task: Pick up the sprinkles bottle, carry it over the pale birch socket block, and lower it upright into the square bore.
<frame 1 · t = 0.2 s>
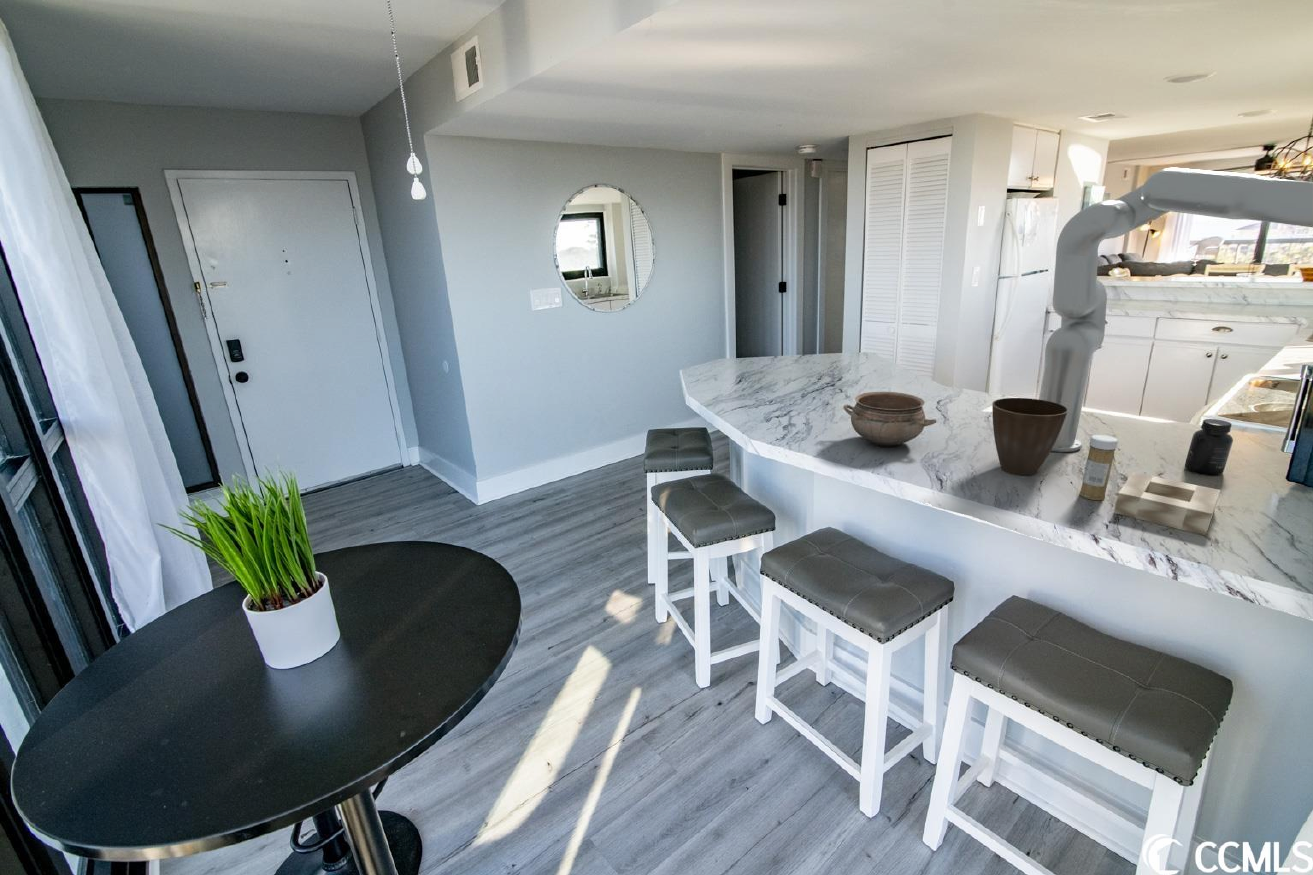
socket block: (1163, 511, 120), on the table
supplement bottle: (1202, 471, 138), on the table
plant pot: (1017, 470, 142), on the table
cooking pot: (885, 443, 163), on the table
sprinkles bottle: (1091, 497, 127), on the table
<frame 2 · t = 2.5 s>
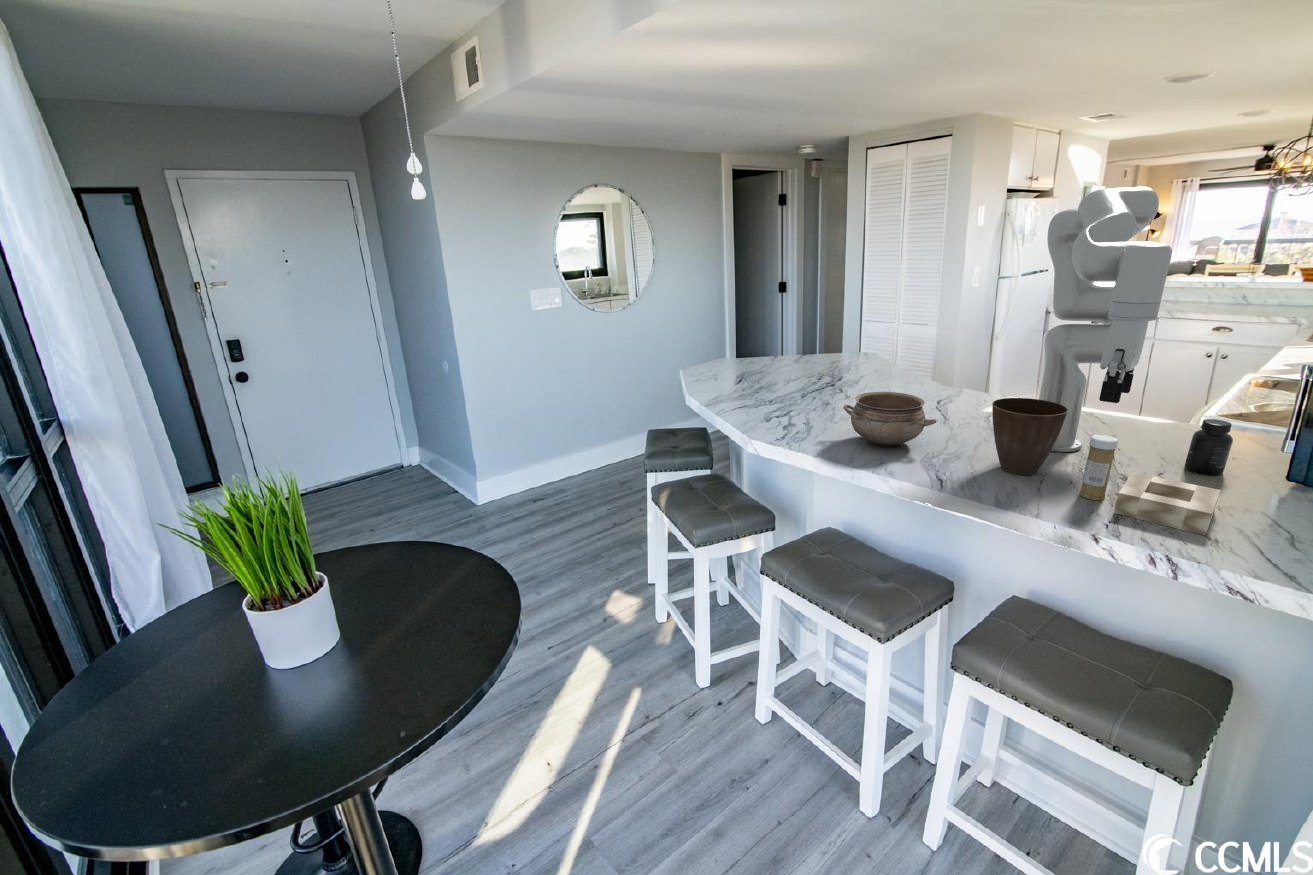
hand: (1114, 396, 120), 22 cm above the table, tool pointing down, fingers open, 9 cm apart
nothing on the table moved.
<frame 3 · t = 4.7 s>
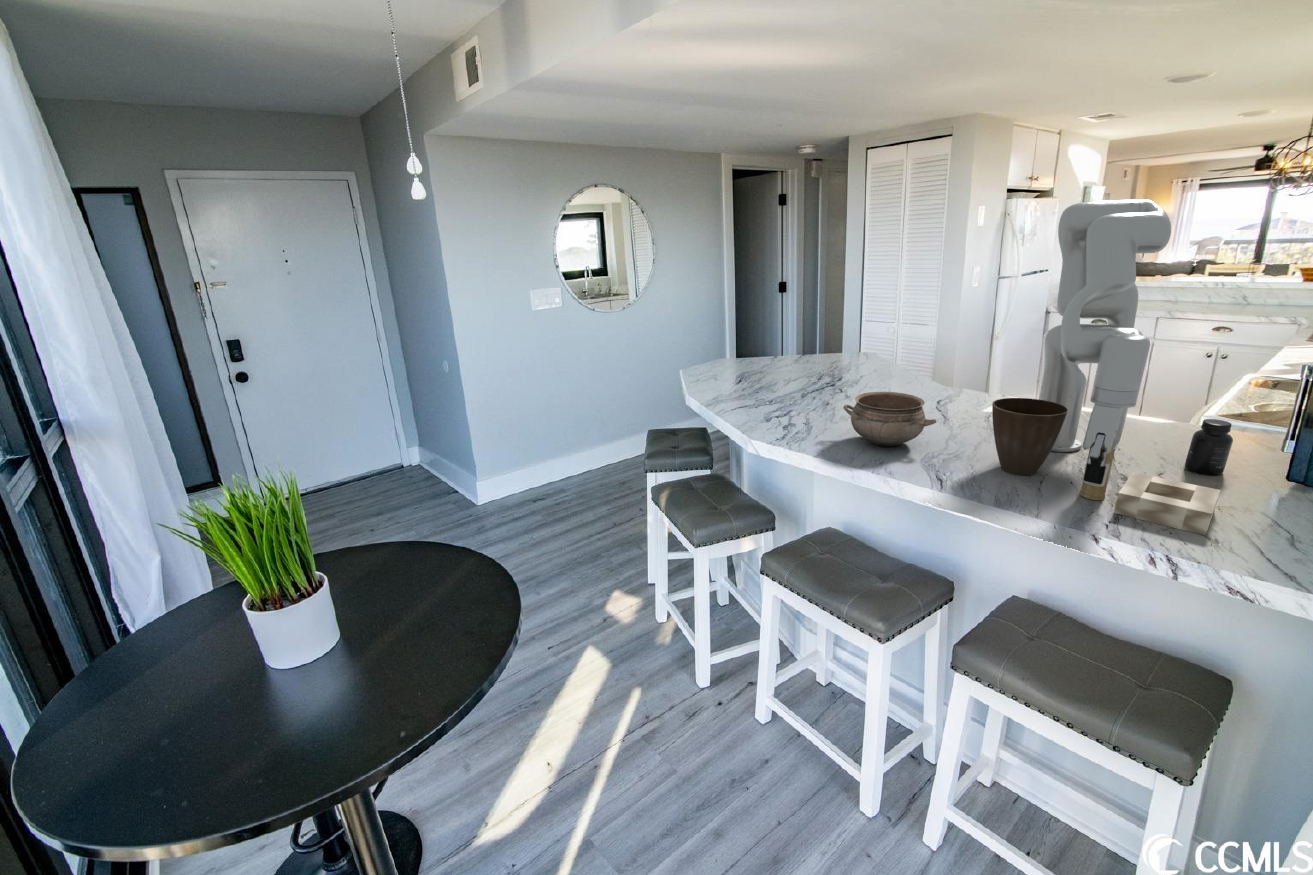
hand: (1095, 477, 126), 4 cm above the table, tool pointing down, fingers closed on sprinkles bottle, 4 cm apart
sprinkles bottle: (1091, 497, 127), on the table, touching gripper
everything else where it was.
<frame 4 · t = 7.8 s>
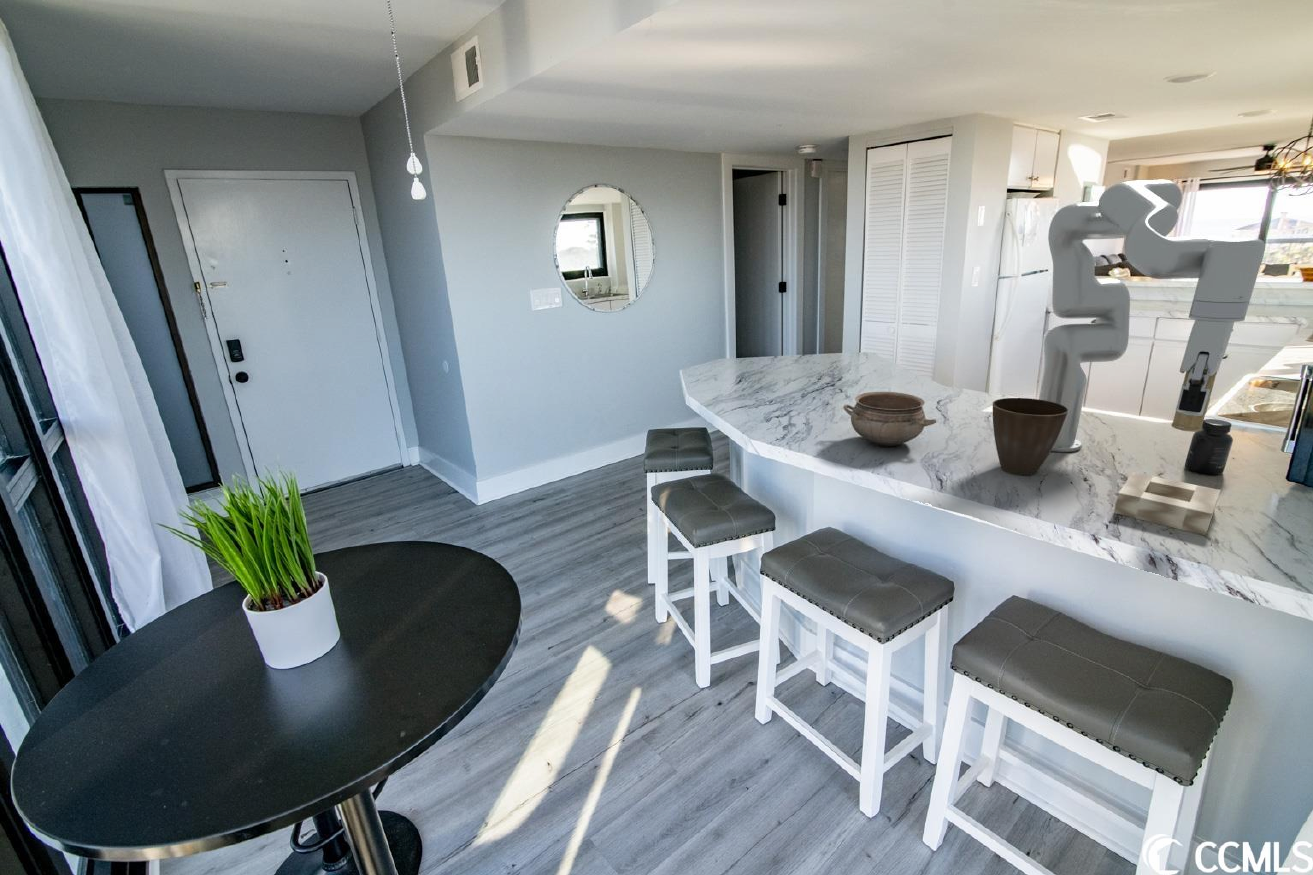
hand: (1191, 406, 113), 22 cm above the table, tool pointing down, fingers closed on sprinkles bottle, 4 cm apart
sprinkles bottle: (1185, 429, 114), point 17 cm above the table, touching gripper
everything else where it was.
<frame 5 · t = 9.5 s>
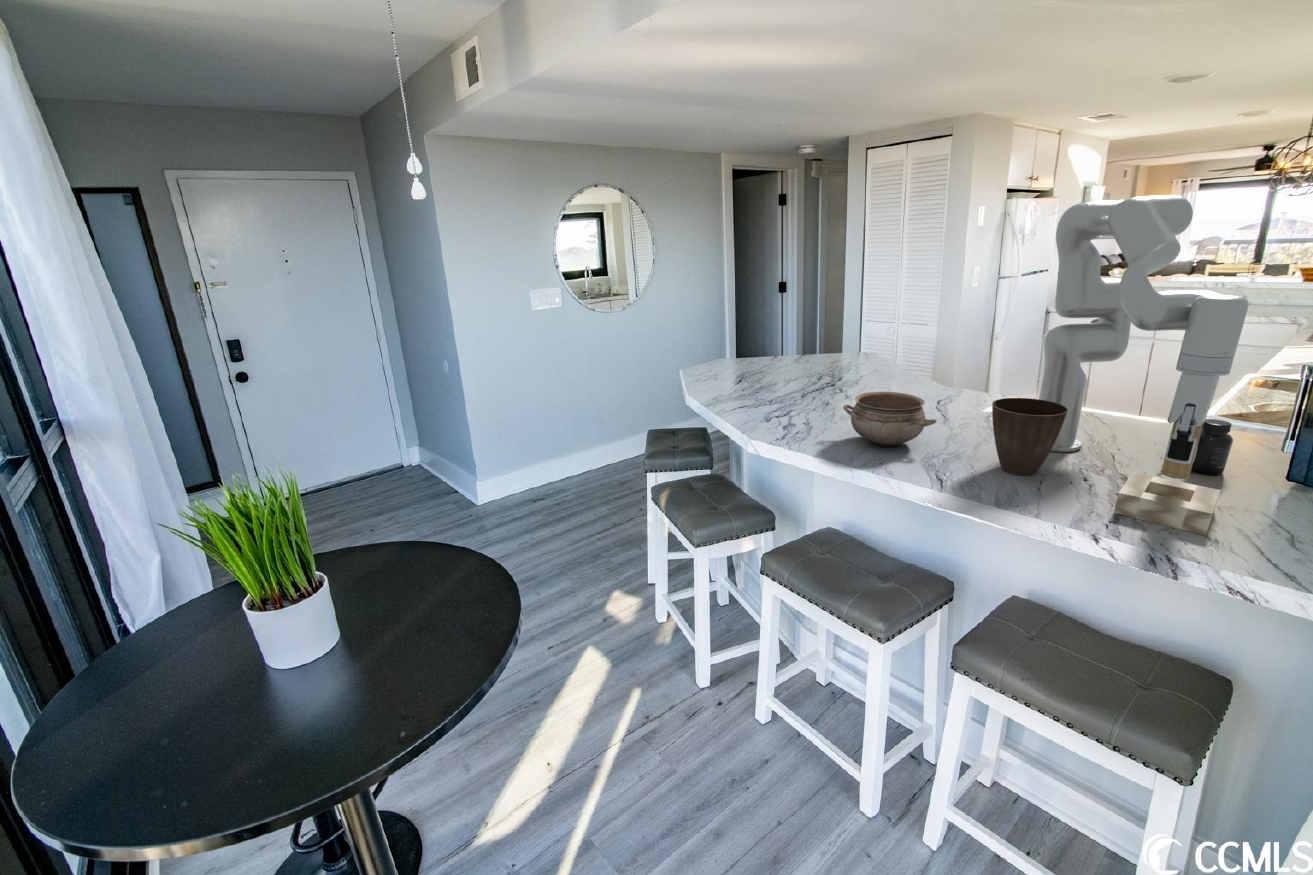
hand: (1179, 454, 116), 12 cm above the table, tool pointing down, fingers closed on sprinkles bottle, 4 cm apart
sprinkles bottle: (1174, 476, 117), point 8 cm above the table, touching gripper
everything else where it was.
when the fingers open (6 cm above the table, at t = 11.0 s): sprinkles bottle drops 2 cm, resting in socket block.
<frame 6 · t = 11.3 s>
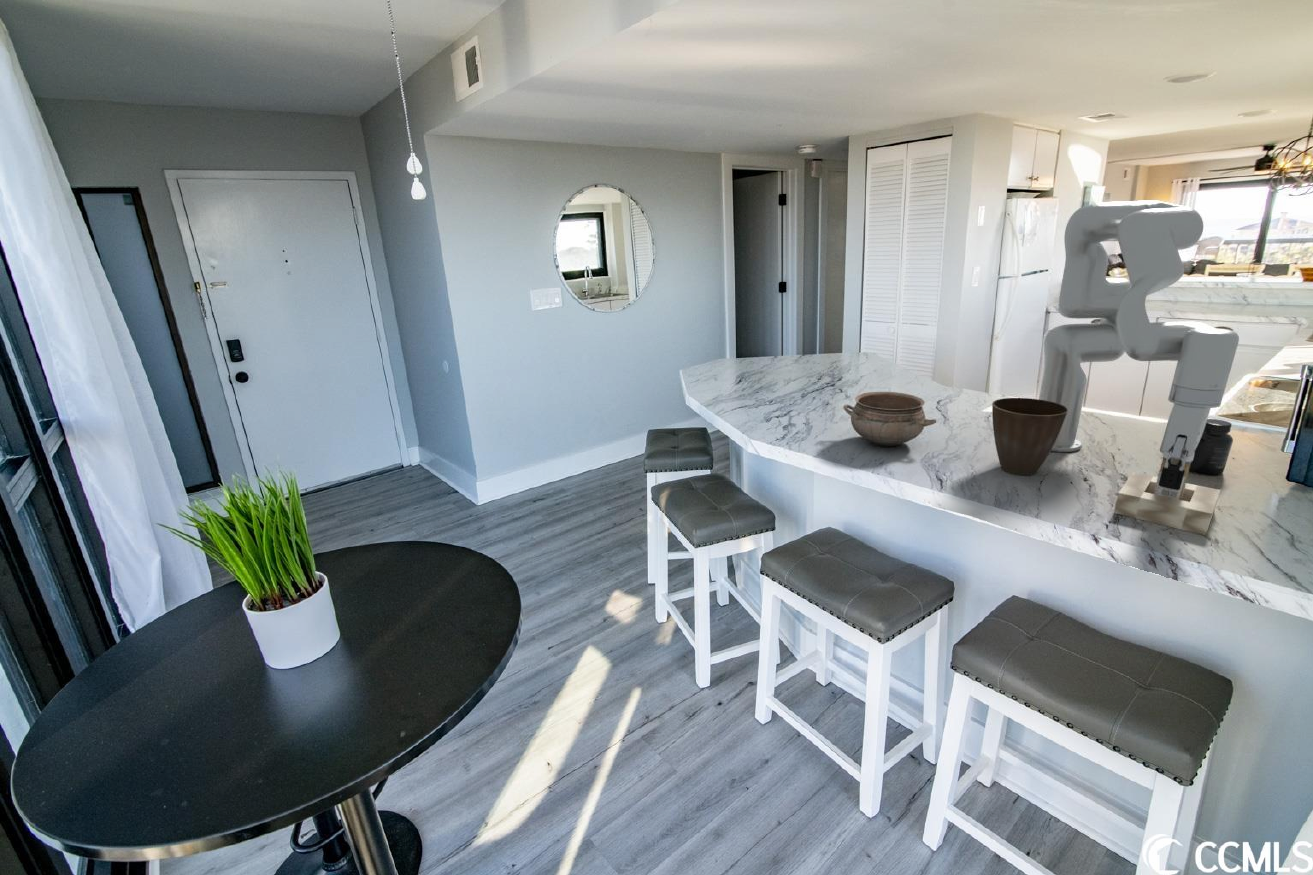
hand: (1172, 481, 118), 7 cm above the table, tool pointing down, fingers open, 6 cm apart
sprinkles bottle: (1163, 511, 120), resting in socket block
everything else where it was.
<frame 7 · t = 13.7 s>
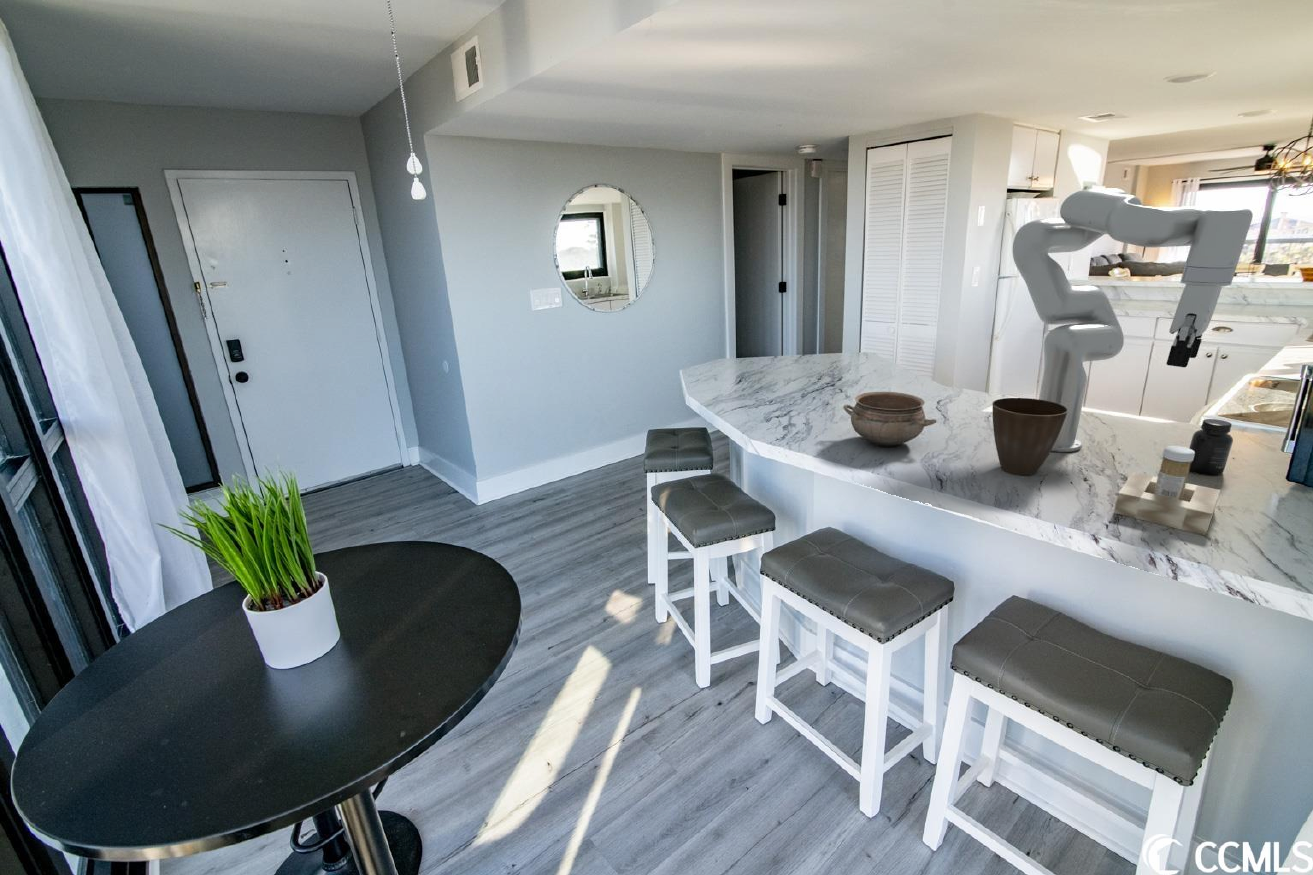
hand: (1181, 361, 122), 28 cm above the table, tool pointing down, fingers open, 9 cm apart
nothing on the table moved.
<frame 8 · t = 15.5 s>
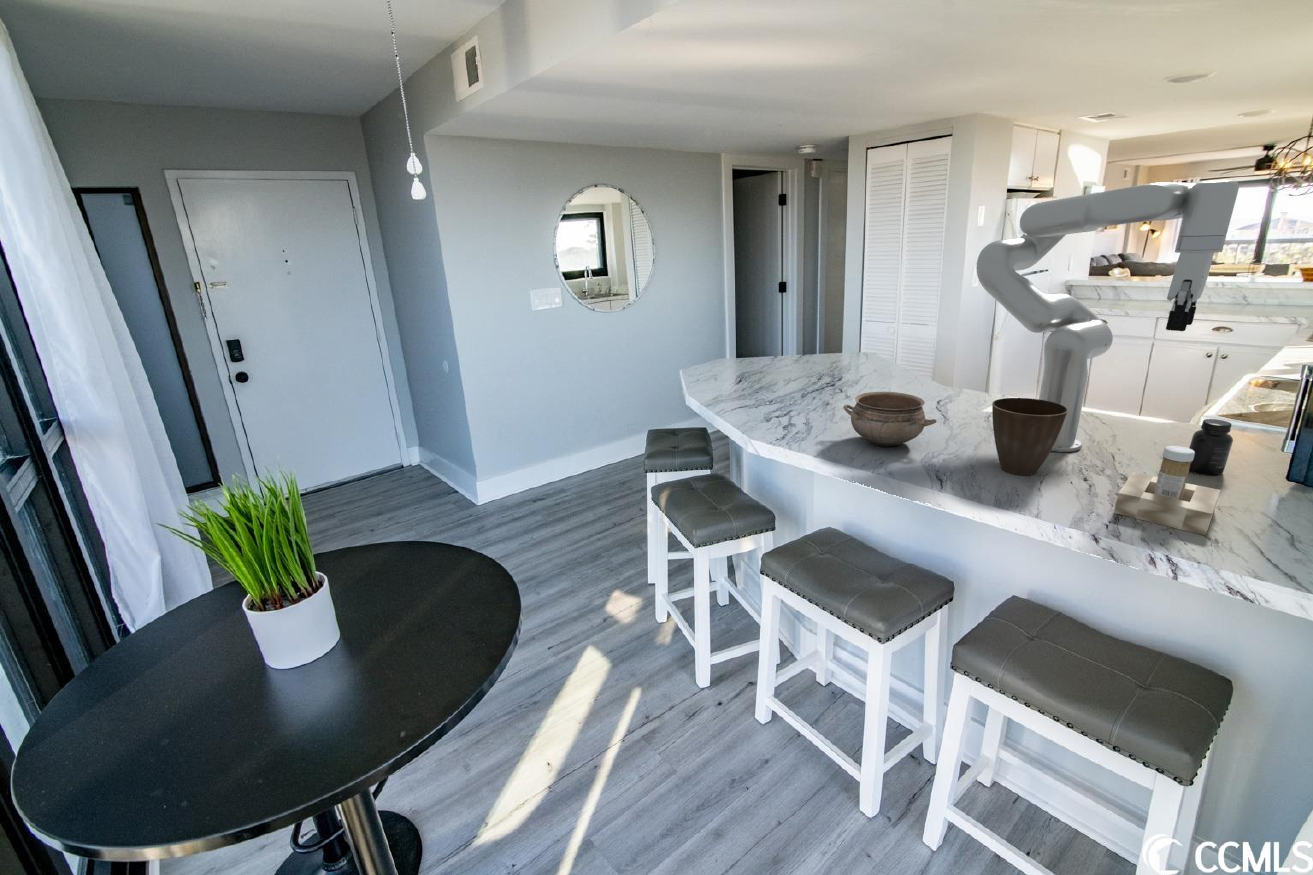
hand: (1178, 327, 129), 33 cm above the table, tool pointing down, fingers open, 9 cm apart
nothing on the table moved.
at the end: sprinkles bottle 0.3 cm off-centre on the socket block, point 0.0 cm above the socket block's base; sprinkles bottle tilted 0°; the gripper is holding nothing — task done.
